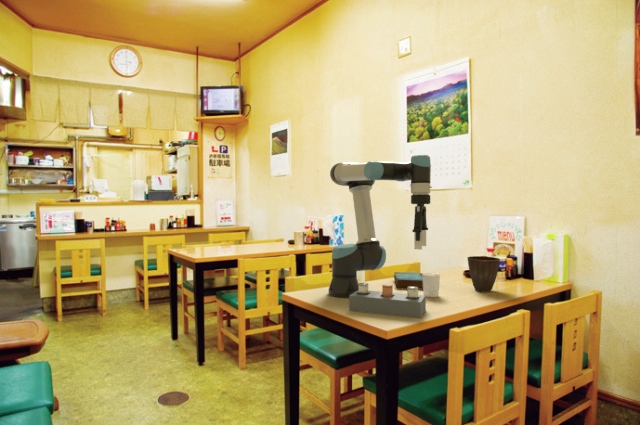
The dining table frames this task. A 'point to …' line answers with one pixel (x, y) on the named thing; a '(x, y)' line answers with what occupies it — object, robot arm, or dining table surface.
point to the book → (408, 280)
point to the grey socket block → (388, 304)
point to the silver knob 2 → (412, 293)
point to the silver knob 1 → (363, 288)
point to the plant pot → (483, 272)
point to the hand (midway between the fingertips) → (420, 247)
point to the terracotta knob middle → (387, 291)
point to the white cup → (431, 284)
